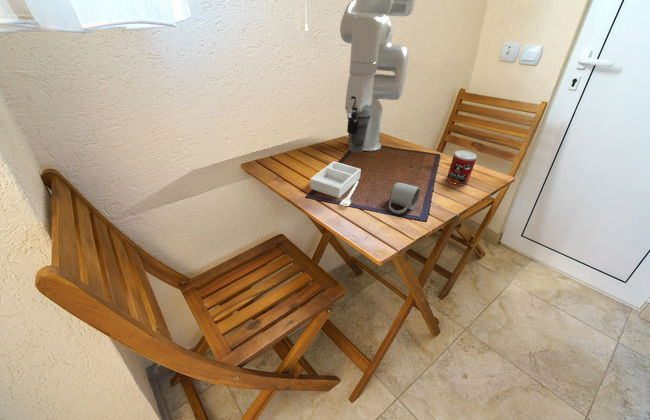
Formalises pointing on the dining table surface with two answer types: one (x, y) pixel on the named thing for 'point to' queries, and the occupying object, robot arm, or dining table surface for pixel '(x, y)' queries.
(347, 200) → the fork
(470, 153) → the canned food
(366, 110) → the beverage cup
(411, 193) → the ceramic mug
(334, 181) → the divided tray
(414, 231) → the dining table surface
